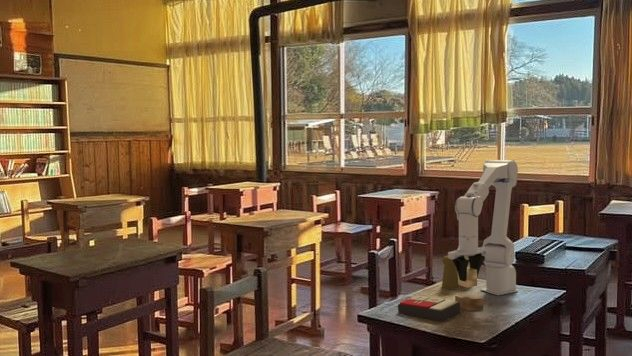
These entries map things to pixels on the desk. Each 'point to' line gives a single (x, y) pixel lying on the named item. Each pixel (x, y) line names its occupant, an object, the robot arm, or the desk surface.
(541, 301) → the desk surface
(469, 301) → the walnut base
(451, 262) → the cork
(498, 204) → the robot arm
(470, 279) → the beech block
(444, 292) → the desk surface
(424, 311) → the calculator
